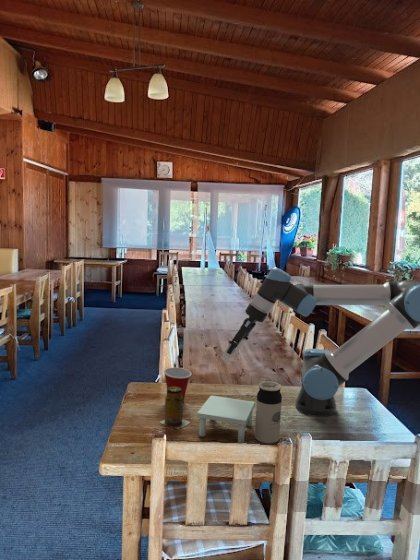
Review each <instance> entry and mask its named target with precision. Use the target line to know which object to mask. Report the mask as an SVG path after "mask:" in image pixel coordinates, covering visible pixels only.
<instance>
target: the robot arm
mask: <svg viewBox="0 0 420 560" xmlns="http://www.w3.org/2000/svg"><path fill="white" fill-rule="evenodd" d="M291 280H292V276H291V275H290V274H289V273H288V272H286V271H285V270H282V268H278V267H276V266H275V267H272V268H271V269H270V271H269V272H268V273H267V275H266V276H265V278H264V280H263V282H262V283H261V285H260V287H259V288H258V289H257V292H256V293H253V295H252V296H253V298H252V299H251V302H249V304H248V306H247V307H246V309H245V314H246V315H248V317H246V318H245V319H244V320H243V323H242V324H241V326H240V328H239V329H238V330H237V332H236V334H235V335H234V337H233V338H232V340H229V341H228V346H227V348H226V349H225V351H224V352H223V354H222V356H221V357H220V359H221V360H223V362H225V363H226V364H228V362H229V361H230V360H231V358H232V356H233V355H234V354H235V355H237V353H238V352H239V350H240V349H241V347H242V346H243V345H244V343H245V341H248V340H249V335H250V333H251V331H253V329H254V328H255V326H256V325H257V322H259V323H263V322H264V321H265V319H266V318H267V317H268V314H269V313H270V312H271V311H272V309H273V308H274V306H275V304H276V303H277V301H279V302H280V303H282V304H283V305H286V306H287V307H288V308H290V309H292V310H294V312H296V313H297V314H300V315H301V316H302V317H308V316H310V314H311V313H312V312H313V310H314V309H315V307H316V306H384V307H385V308H386V310H385V311H383V312H381V314H379V315H378V316H377V317H376V318H375V319H373V320H372V321H371V322H370V323H368V324H367V325H366V326H365V327H363V328H362V329H361V330H359V331H358V332H356V334H354V335H353V336H351V337H350V338H349V339H348V340H346V342H344V343H343V344H342V345H340V346H339V347H338V348H337V349H335V350H334V351H332V350H328V349H323V348H322V349H321V348H307V349H305V350H304V352H303V356H302V357H303V358H302V359H303V362H302V363H303V364H302V373H301V374H302V376H301V387H300V390H299V393H298V395H297V397H296V399H295V408H296V409H297V410H298V411H299V412H300V413H303V414H306V415H310V416H314V417H329V416H333V415H334V414H336V412H337V403H336V400H335V395H336V394H337V392H338V390H339V388H340V387H341V386H342V385H343V384H345V382H347V381H348V380H349V376H350V375H349V374H350V373H351V372H352V371H354V369H356V368H357V367H359V366H360V365H361V364H363V363H364V362H365V361H366V360H368V359H369V358H370V357H371V356H373V355H374V354H376V353H377V352H378V351H379V350H380V349H383V348H384V346H386V345H387V344H389V343H390V342H391V341H392V340H394V339H395V338H397V336H399V335H400V334H402V333H403V332H404V331H405V330H414V329H416V328H417V327H419V326H420V280H416V279H415V280H414V279H412V280H411V279H410V280H400V281H398V280H397V281H386V282H385V283H384V284H303V283H296V284H293V283H292V282H291Z"/></svg>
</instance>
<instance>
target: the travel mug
mask: <svg viewBox="0 0 420 560" xmlns="http://www.w3.org/2000/svg"><path fill="white" fill-rule="evenodd" d="M258 389H259V391H257V393H256V404H255V407H256V409H255V426H254V427H255V428H254V438H255V439H256V440H257V441H259V442H261V443H264V444H273V443H277V442H279V440H280V432H281V414H282V401H283V400H282V399H283V396H282V394H281V390H282V385H281V384H280V383H278V382H275V381H261V382H259V383H258Z"/></svg>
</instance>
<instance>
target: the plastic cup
mask: <svg viewBox="0 0 420 560" xmlns="http://www.w3.org/2000/svg"><path fill="white" fill-rule="evenodd" d="M163 374H164V377H165V385H166V390H167V389H168V388H169V387H180V388H181V389H182V396H183V402H184V401H185V396H186V392H187V388H188V382H190V377H191V376H192V372H191V371H190V370H188V369H186V368H183V367H174V366H173V367H168V368H167V367H166V368H165V369H164V370H163Z"/></svg>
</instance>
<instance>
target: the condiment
mask: <svg viewBox="0 0 420 560" xmlns="http://www.w3.org/2000/svg"><path fill="white" fill-rule="evenodd" d="M164 400H165V402H164V419H163V420H160V421H159V424H162V425H165V426H168V427H171V428H174V429H177V430H179V429H181V428H183V427H186V426H187V425H190V423H192V421H189V420H186V419H184V418H183V405H184V404H183V403H184V401H183V396H182V389H181V388H180V387H169V388H168V389H167V388H166V395H165V399H164Z"/></svg>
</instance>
